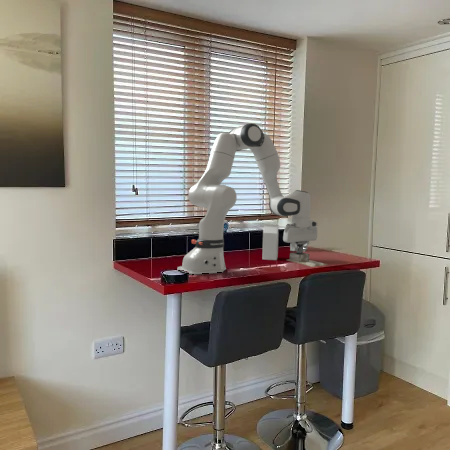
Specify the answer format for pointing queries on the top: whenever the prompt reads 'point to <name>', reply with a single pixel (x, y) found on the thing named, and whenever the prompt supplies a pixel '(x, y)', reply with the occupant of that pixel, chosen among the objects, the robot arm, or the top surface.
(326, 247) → the top surface
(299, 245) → the pin
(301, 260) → the eye block
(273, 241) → the milk carton
